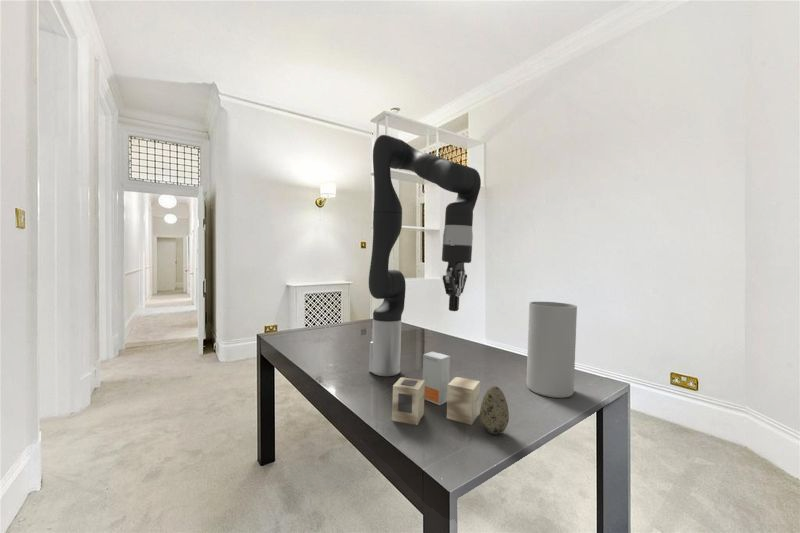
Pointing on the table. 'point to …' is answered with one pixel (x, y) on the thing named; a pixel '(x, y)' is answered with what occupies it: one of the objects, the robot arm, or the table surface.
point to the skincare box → (436, 377)
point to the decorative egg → (494, 411)
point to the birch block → (463, 400)
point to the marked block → (408, 400)
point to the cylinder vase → (551, 348)
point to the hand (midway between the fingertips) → (453, 310)
